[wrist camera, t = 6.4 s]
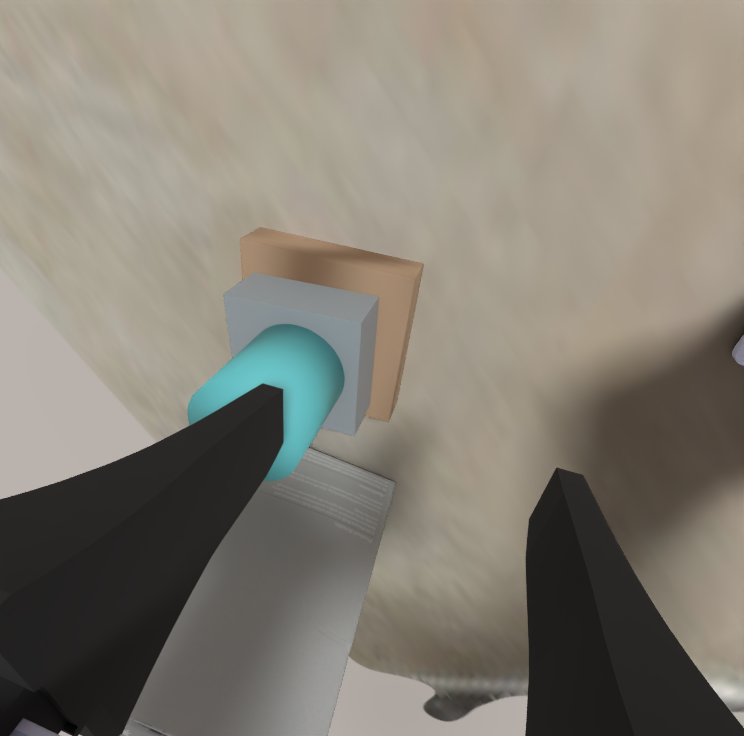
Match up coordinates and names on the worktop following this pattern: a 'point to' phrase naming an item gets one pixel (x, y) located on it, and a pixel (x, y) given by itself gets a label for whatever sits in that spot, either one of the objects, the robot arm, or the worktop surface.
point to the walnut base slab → (351, 273)
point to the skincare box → (272, 611)
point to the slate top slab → (322, 316)
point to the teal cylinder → (280, 386)
